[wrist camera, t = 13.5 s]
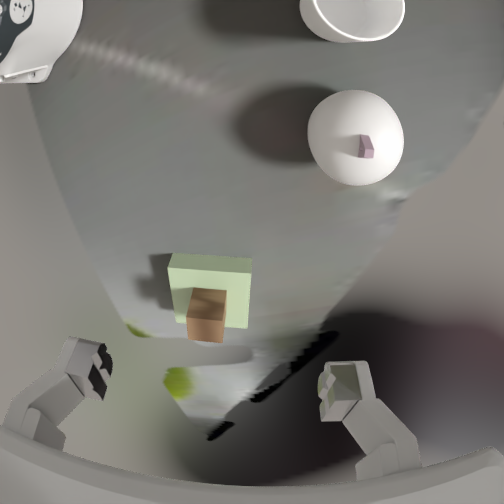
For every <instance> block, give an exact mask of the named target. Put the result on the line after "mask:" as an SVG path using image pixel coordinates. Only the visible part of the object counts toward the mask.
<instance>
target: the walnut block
mask: <svg viewBox="0 0 504 504" xmlns="http://www.w3.org/2000/svg"><path fill="white" fill-rule="evenodd" d="M226 302H227V290H217V289H206V288H196V287H193V291H192V295H191V299H190V303H189V307H188V311H187V315H186V323H187V331H188V339H189V340H197V341H206V342H216V343H222V342H223V334H224V326H225V319H226Z"/></svg>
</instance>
